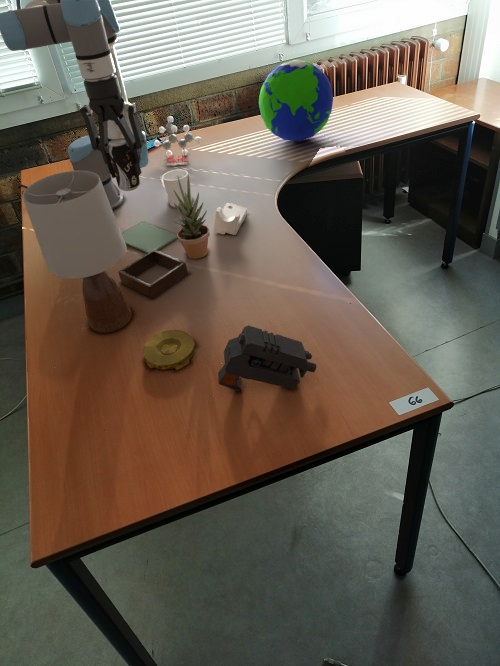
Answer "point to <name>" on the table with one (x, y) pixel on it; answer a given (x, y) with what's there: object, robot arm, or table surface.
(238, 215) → the bracket
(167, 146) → the molecule model
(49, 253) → the lamp
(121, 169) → the beverage can
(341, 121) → the table surface
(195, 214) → the potted plant
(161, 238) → the mat
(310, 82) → the globe
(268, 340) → the tool
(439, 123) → the table surface
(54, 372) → the table surface
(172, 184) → the mug
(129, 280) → the holder
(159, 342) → the yellow flat disc
